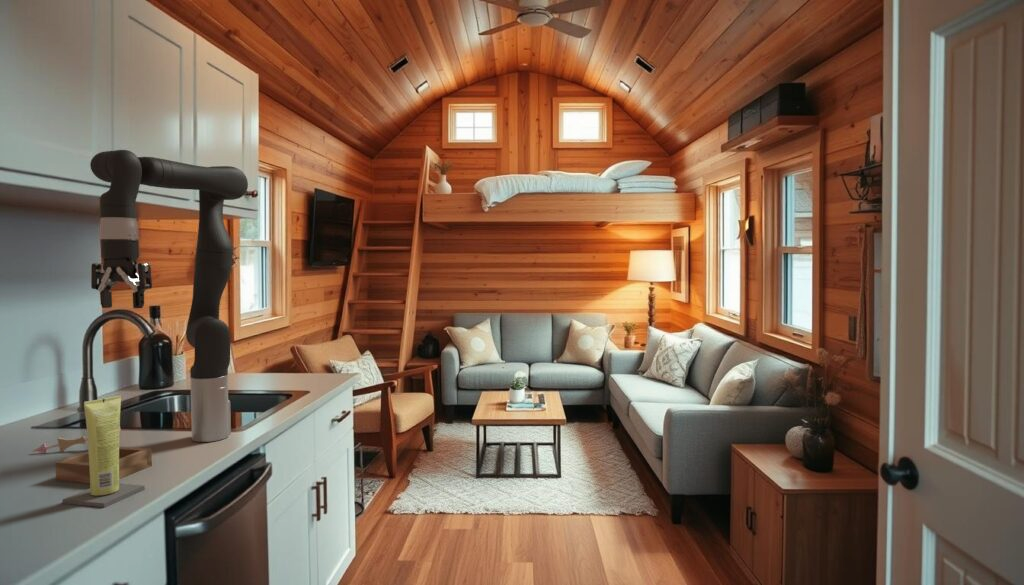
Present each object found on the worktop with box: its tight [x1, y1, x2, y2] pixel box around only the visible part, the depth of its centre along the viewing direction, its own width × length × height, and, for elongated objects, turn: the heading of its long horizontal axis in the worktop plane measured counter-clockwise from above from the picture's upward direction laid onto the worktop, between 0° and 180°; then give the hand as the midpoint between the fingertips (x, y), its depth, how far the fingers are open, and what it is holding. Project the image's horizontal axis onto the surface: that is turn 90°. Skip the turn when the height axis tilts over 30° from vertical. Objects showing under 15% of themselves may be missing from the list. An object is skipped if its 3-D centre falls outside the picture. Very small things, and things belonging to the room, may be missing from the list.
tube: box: [83, 395, 122, 496], centre depth 127 cm, size 6×5×20 cm
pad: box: [61, 482, 145, 508], centre depth 127 cm, size 10×10×1 cm
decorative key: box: [32, 427, 122, 454], centre depth 158 cm, size 7×1×20 cm
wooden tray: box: [54, 446, 153, 484], centre depth 141 cm, size 13×13×4 cm
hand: (122, 308), depth 143 cm, fingers open, 8 cm apart
